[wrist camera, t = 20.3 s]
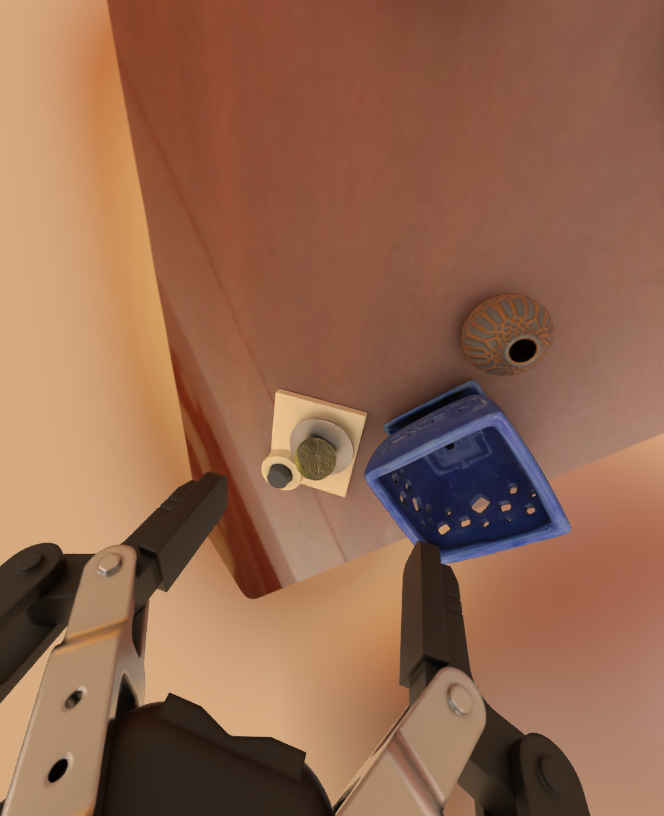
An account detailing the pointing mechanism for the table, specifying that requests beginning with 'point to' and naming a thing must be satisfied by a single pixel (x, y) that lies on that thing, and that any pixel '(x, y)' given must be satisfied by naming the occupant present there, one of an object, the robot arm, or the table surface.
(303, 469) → the lime
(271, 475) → the tare button
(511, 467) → the flower pot
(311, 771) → the robot arm
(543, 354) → the vase
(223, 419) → the table surface
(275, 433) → the scale
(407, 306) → the table surface
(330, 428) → the weighing plate
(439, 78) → the table surface
